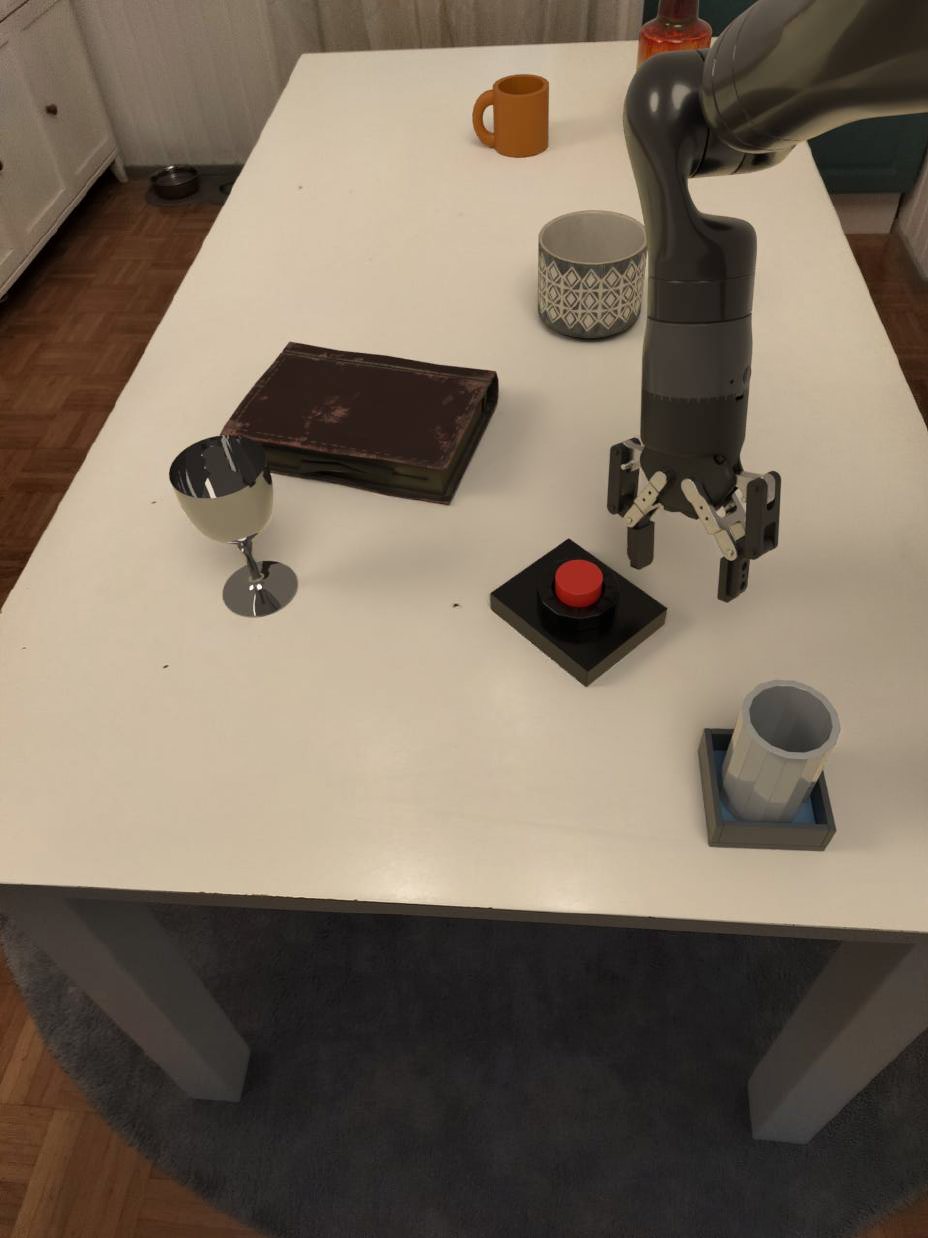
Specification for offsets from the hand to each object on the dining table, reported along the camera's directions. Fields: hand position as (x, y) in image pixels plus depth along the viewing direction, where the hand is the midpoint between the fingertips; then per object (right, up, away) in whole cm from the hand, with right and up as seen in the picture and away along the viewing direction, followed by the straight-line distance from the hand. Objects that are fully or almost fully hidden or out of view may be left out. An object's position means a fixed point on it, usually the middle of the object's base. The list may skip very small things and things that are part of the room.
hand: (683, 581), depth 71 cm
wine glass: (-37, 0, +13) cm, 39 cm away
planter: (-2, +35, +39) cm, 52 cm away
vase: (+15, +76, +73) cm, 106 cm away
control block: (-8, -3, +8) cm, 12 cm away
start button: (-8, -1, +6) cm, 10 cm away
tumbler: (+4, -16, -5) cm, 17 cm away
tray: (+5, -17, -4) cm, 18 cm away
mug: (-10, +74, +73) cm, 104 cm away
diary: (-28, +17, +27) cm, 42 cm away
